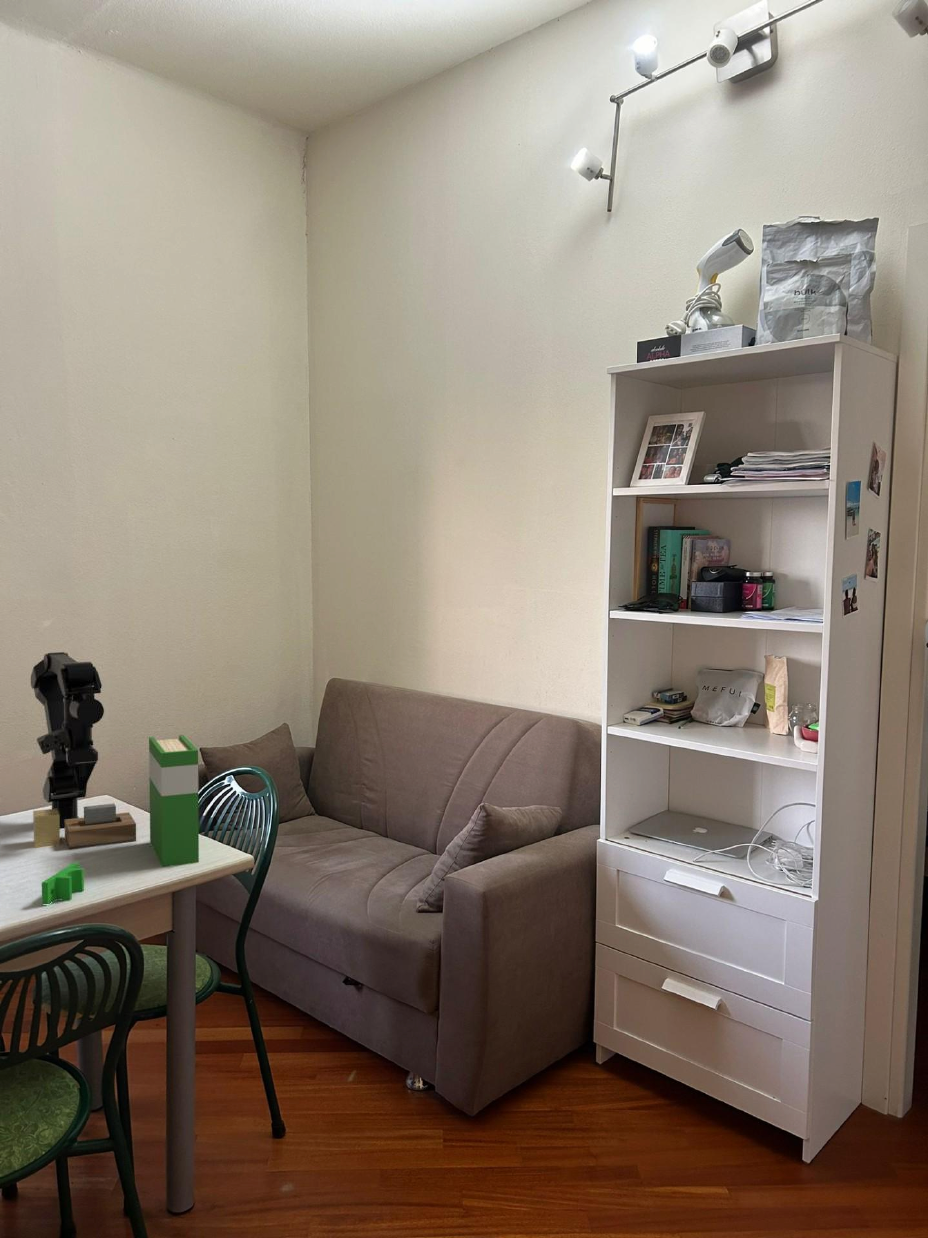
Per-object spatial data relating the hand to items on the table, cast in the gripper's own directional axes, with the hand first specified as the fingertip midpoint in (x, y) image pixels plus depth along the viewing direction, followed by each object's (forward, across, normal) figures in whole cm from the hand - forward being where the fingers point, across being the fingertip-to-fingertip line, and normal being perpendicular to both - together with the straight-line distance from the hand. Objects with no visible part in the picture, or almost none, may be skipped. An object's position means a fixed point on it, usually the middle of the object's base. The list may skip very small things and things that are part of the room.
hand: (79, 785), depth 212 cm
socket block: (+12, +3, +4) cm, 13 cm away
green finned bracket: (+12, +36, -6) cm, 39 cm away
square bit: (+12, +1, -7) cm, 14 cm away
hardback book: (+12, +19, +17) cm, 29 cm away
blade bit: (+12, +3, +4) cm, 13 cm away
